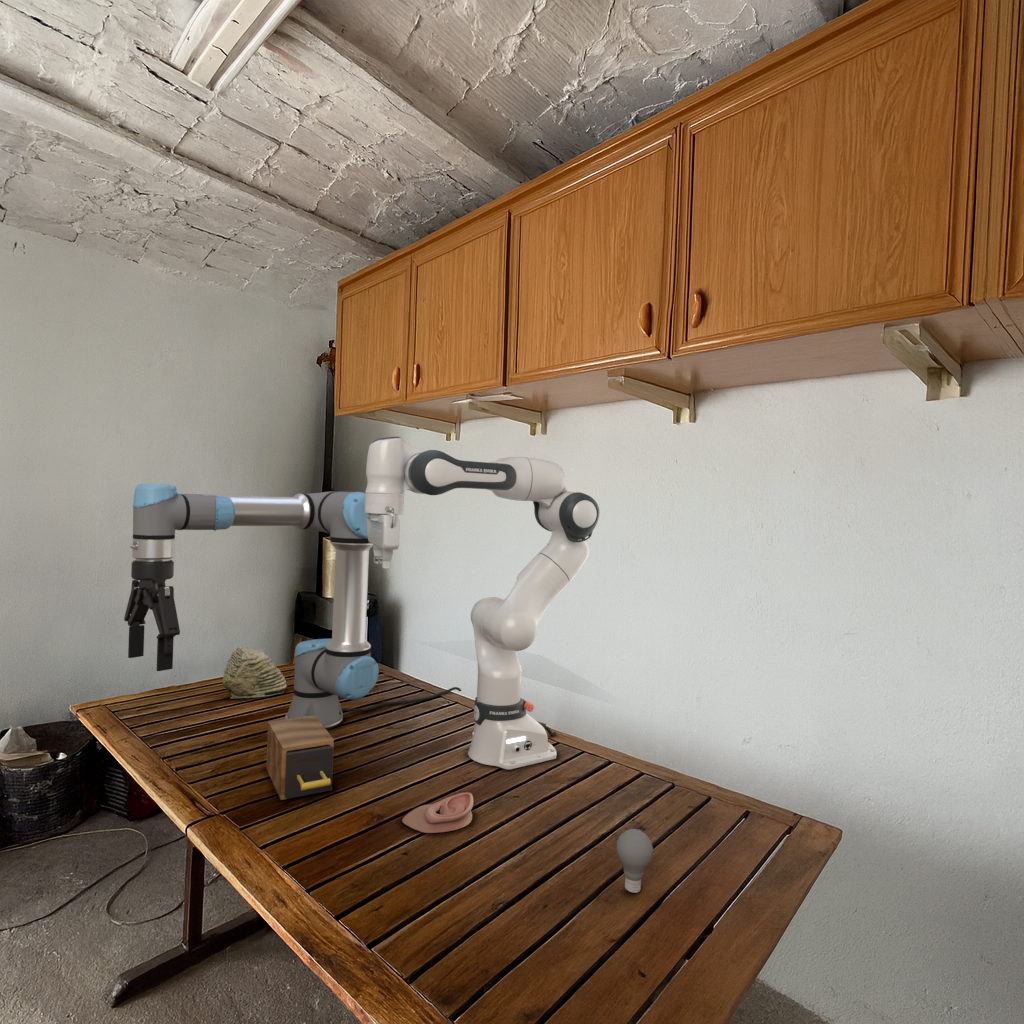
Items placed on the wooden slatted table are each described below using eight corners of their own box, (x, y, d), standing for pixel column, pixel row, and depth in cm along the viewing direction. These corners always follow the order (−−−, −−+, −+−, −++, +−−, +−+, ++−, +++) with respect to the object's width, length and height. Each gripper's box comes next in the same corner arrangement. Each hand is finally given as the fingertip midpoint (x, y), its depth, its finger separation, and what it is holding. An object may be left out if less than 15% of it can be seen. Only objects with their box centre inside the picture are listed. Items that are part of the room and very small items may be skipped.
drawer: (339, 801, 130) (340, 757, 130) (291, 811, 125) (293, 765, 125) (313, 762, 148) (315, 723, 148) (271, 769, 144) (273, 729, 144)
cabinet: (332, 790, 137) (334, 739, 137) (280, 800, 132) (282, 747, 131) (313, 760, 151) (315, 715, 151) (266, 768, 146) (268, 721, 146)
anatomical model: (396, 808, 122) (417, 782, 133) (395, 828, 122) (416, 801, 133) (463, 818, 119) (478, 791, 130) (462, 839, 119) (477, 810, 131)
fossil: (218, 695, 195) (220, 647, 195) (278, 685, 208) (279, 640, 207) (228, 703, 189) (230, 653, 188) (289, 692, 201) (290, 645, 201)
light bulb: (610, 879, 108) (613, 822, 108) (644, 879, 109) (647, 822, 109) (619, 902, 102) (622, 840, 102) (655, 901, 103) (658, 840, 103)
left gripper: (108, 554, 134) (105, 654, 134) (160, 566, 118) (157, 679, 119) (146, 553, 140) (143, 649, 140) (201, 564, 124) (197, 671, 125)
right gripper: (407, 508, 138) (405, 571, 139) (389, 505, 157) (386, 561, 158) (378, 507, 136) (376, 571, 136) (363, 504, 155) (361, 561, 155)
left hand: (149, 663), depth 129 cm, fingers open, 13 cm apart
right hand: (381, 565), depth 147 cm, fingers open, 8 cm apart
